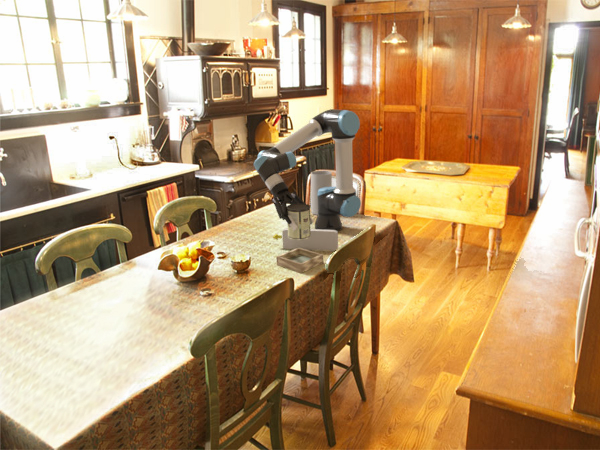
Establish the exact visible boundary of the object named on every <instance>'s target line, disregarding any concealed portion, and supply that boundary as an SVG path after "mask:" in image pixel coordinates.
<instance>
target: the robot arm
mask: <svg viewBox="0 0 600 450" xmlns="http://www.w3.org/2000/svg"><path fill="white" fill-rule="evenodd" d="M360 126H361V121H360V118H359V116H358V115H357V114H356V112H354V111H351V110H348V109H333V108H332V109H331V108H330V109H326V110H324V111H322V112H321V113H319V114H317V115H315V116H314V117H312V118H311V119H309V121H308V123H306V124H305V125H304V126H302V127H301V128H299V129H298V130H297V131H295V132H293V133H292V134H290V135H289V136H287V137H286V138H284V139H283V140H281V141H280V142H278V143H276V144H275V145H273V146H272V147H271V148H269V149H264V150H261V151H260V152H258V154H257V158H256V159H255V160H254V162H253V167H254V169H255V171H256V173H257V174H258V175H259V177H260V178H261V180H262V181H263V183H264V184H265V186H266V187H267V189H269V191H270V192H271V194H272V196H273V199H272V200H271V202H272V204H273V205H274V207H275V210H276V213H277V215H278V218H279V220H282V221H284V220H285V222H286V224H287V225H288V224H289V225H290V226H291V228H292V229H293V231H295V230H296V229H297V228H298V227H297V225H296V224H295V222H294V221H293V219H292V218H291V216H290V215H289V216H288V211H287V206H288V205H291V204H298V203H301V204H307V203H306V202H305V201H304V200H303V199H302V198H301V197H300V196H299V195H298V194H297V192H296V191H293V192H292V193H291V192H290V191H289V187H288V185H287V184H286V182H284V179H283V178H282V176H281V175H280V173H282V172H285V171H287V170H290V169H292V168H294V167H296V165H297V157H296V155H295V154H294V152H295V151H297V150H298V149H299V148H301V147H303V146H304V145H305V144H307V143H308V142H310V141H312V140H313V139H314V138H315V137H321V136H322V135H324V134H327V133H328V134H331V139H332V140H333V141H334V149H335V150H334V151H335V179H336V180H335V186H332V187H324V188H320V189H319V190H318V195H317V196H318V215H316V216H317V217H316V220H313V217H312V216H311V215H310V226H311V225H312V224H313V223H314V222H315V223H314V229H321V230H336V231H338V232H340V231H341V230H342V229H343V223H342V220H341V217H340V216H342V217H347V218H352V217H354V216H356V215H357V213H358V212H359V211H360V209H361V204H362V202H361V201H362V200H361V199H360V197H359V196H357V189H356V188H355V187H354V180H353V179H354V176H353V174H354V173H353V172H354V171H353V170H354V169H353V165H354V164H353V140H354V139H355V138H356V134H357V133H358V130H360ZM287 204H288V205H287Z"/></svg>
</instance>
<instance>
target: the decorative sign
mask: <svg viewBox="0 0 600 450" xmlns="http://www.w3.org/2000/svg"><path fill="white" fill-rule="evenodd" d="M281 232H282V235H279V234H278V233H275V234H274V235H273V236H272V239H275V240H276V241H278V239H282V248H283V249H285V250H294V249H296V248H302V249H305V250H309V251H324V252H336V251H337V250H338V248H339V231H336V230H321V229H315V228H310V236H311V237H310V238H309V239H306V240H291V239H289V238H288V227H287V228H284V229H283V230H282V231H281ZM336 249H337V250H336ZM335 250H336V251H335Z"/></svg>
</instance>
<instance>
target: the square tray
mask: <svg viewBox="0 0 600 450" xmlns="http://www.w3.org/2000/svg"><path fill="white" fill-rule="evenodd" d="M275 257H276V258H275V259H276V266H280V267H283V268H285V269H288V270H291V271H294V272H297V273H300V272H301V274H303V273H305V272H306V271H309V270H311V269H313V268H316V267H317V266H321V265H322V264H323V263H324V254H322V253H319V252H315V251H313V250H305V249H302V248H296V249H290V250H289V251H287V252H284V253H283V254H282V253H281V254H280V255H276V256H275ZM304 271H305V272H304ZM302 272H303V273H302Z"/></svg>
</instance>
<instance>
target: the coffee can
mask: <svg viewBox="0 0 600 450" xmlns="http://www.w3.org/2000/svg"><path fill="white" fill-rule="evenodd" d="M287 211H288V216H289V215H290V216H291V218H292V219H293V221H294V222H295V224H296V225H297V227H298V228H297V229H296V230H295V231H293V229H292V228H291V226H290V225H289V224H288V223H287V228H288V238H289V239H291V240H306V239H309V238H310V237H311V236H310V229H311V225H310V216H311V204H310V205H309V203H306V204H301V203H298V204H288V205H287Z"/></svg>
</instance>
